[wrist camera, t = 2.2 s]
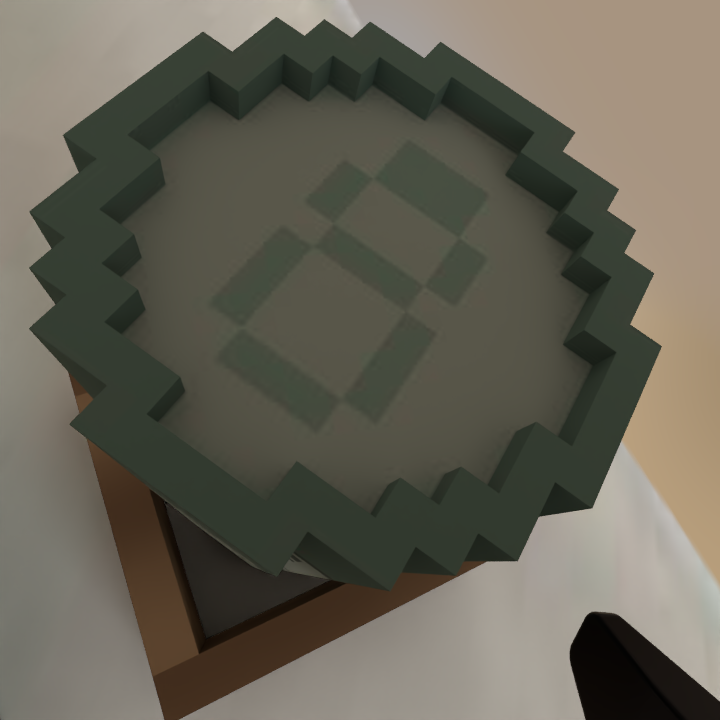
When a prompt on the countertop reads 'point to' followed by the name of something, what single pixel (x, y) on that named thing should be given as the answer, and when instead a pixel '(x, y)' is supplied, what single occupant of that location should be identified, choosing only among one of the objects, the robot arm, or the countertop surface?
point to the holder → (180, 616)
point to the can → (344, 303)
